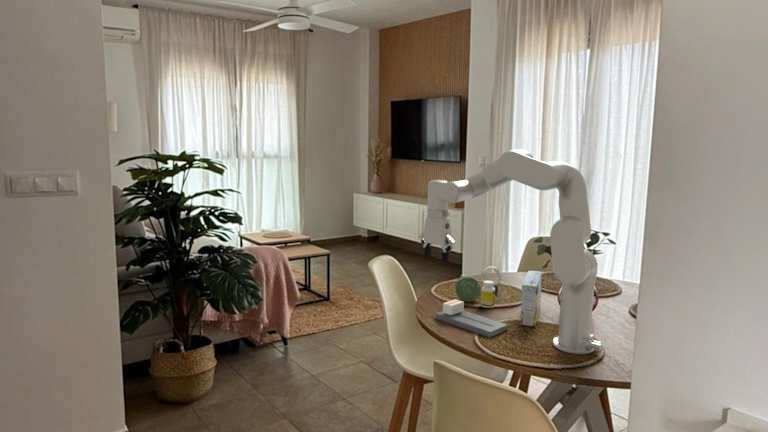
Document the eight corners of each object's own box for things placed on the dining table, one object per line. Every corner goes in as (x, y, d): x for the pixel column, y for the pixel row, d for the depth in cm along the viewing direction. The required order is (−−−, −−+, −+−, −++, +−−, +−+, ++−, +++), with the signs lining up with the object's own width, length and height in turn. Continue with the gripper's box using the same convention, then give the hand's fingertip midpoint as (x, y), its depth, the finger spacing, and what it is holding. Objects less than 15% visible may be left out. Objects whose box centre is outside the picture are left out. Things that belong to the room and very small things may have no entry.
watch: (502, 293, 220) (503, 268, 218) (483, 293, 220) (484, 268, 218) (500, 290, 225) (501, 265, 223) (481, 289, 226) (482, 264, 224)
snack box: (525, 307, 203) (527, 269, 201) (540, 309, 201) (543, 271, 199) (519, 325, 184) (521, 284, 181) (535, 327, 182) (538, 286, 179)
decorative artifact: (478, 299, 212) (479, 275, 210) (481, 305, 205) (483, 280, 203) (454, 299, 212) (455, 275, 210) (456, 304, 205) (457, 280, 203)
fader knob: (463, 311, 190) (463, 301, 190) (451, 315, 186) (451, 305, 185) (455, 308, 193) (455, 298, 193) (442, 312, 189) (443, 303, 188)
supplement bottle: (494, 308, 201) (495, 284, 199) (480, 307, 202) (481, 283, 200) (494, 304, 206) (495, 280, 205) (480, 303, 207) (481, 279, 206)
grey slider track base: (507, 330, 179) (507, 324, 178) (490, 337, 172) (490, 331, 172) (453, 312, 196) (453, 307, 196) (435, 318, 189) (435, 313, 189)
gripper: (462, 215, 187) (460, 263, 189) (426, 210, 199) (425, 254, 202) (449, 217, 182) (447, 266, 184) (413, 211, 194) (412, 257, 197)
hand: (436, 260), depth 193 cm, fingers open, 8 cm apart
